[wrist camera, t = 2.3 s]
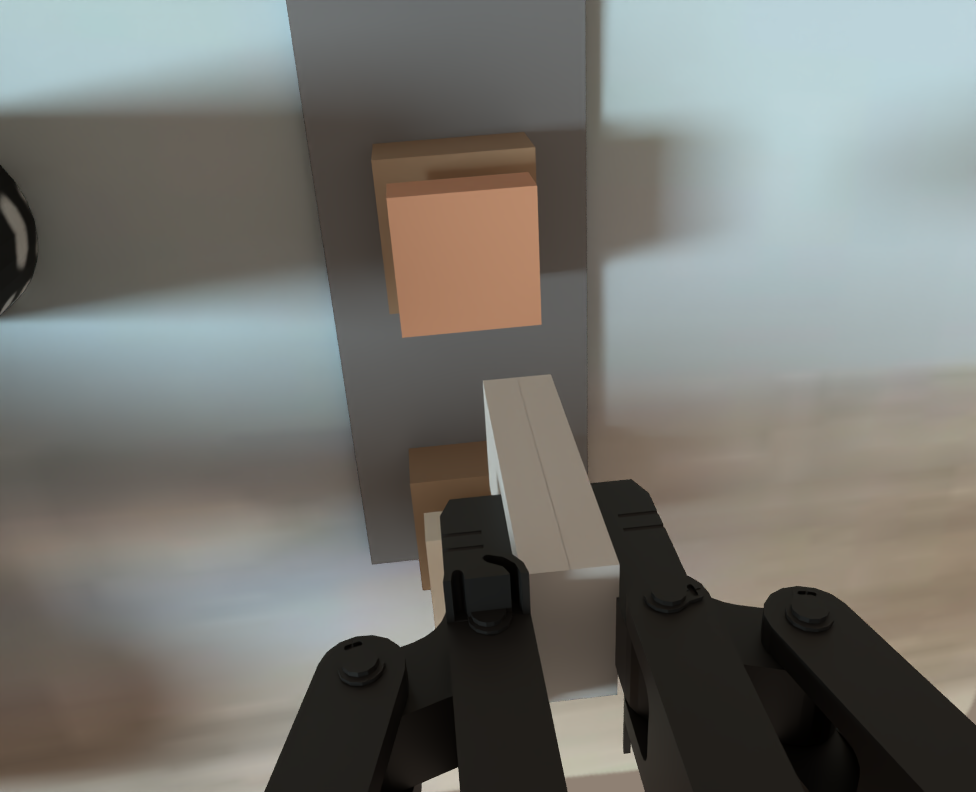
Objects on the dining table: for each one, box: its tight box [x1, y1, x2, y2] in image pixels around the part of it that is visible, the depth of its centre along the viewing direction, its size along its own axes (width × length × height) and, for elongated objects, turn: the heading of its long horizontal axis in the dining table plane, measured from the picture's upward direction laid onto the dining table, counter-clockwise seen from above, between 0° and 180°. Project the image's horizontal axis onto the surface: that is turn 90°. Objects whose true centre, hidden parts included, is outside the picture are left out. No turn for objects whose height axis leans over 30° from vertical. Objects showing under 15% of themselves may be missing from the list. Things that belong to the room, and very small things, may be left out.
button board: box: [286, 0, 588, 590], centre depth 34 cm, size 11×35×4 cm, turn 3°
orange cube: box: [386, 172, 542, 338], centre depth 32 cm, size 5×5×5 cm
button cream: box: [424, 511, 446, 629], centre depth 38 cm, size 5×5×5 cm
